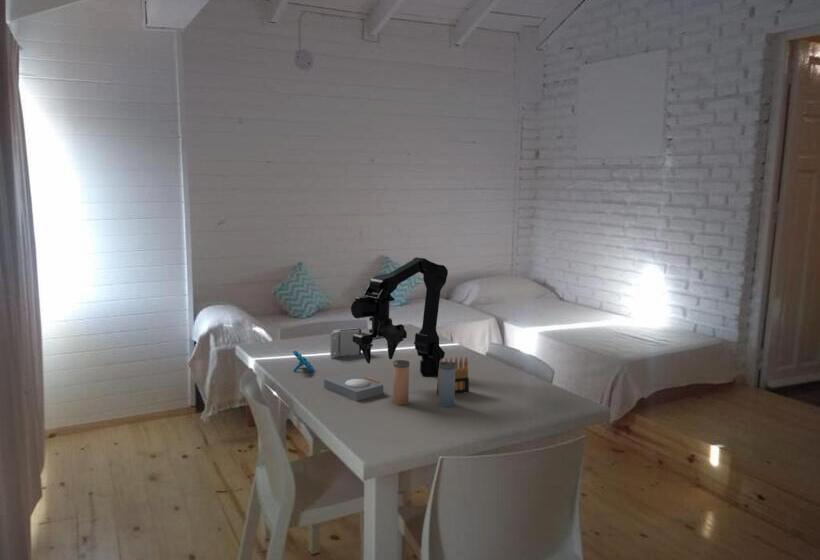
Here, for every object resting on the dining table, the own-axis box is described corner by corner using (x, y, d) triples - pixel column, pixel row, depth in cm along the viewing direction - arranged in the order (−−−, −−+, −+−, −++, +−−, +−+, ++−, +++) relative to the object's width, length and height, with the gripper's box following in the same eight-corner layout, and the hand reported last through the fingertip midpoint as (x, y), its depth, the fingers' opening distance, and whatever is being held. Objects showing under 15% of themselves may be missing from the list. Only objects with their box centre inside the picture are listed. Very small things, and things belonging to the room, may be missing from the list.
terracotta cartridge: (407, 399, 211) (408, 359, 209) (409, 405, 206) (410, 364, 204) (392, 400, 211) (392, 360, 209) (393, 405, 206) (394, 364, 204)
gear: (315, 370, 236) (294, 350, 236) (303, 382, 236) (282, 362, 235) (316, 366, 247) (296, 347, 247) (304, 377, 247) (285, 358, 246)
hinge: (331, 359, 258) (331, 333, 257) (325, 356, 263) (324, 331, 261) (362, 354, 266) (362, 329, 264) (356, 351, 270) (356, 327, 269)
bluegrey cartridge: (453, 401, 210) (454, 361, 208) (456, 407, 205) (457, 365, 203) (437, 402, 209) (438, 361, 207) (440, 407, 204) (440, 366, 203)
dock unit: (352, 381, 230) (352, 371, 229) (384, 393, 217) (384, 382, 216) (324, 387, 222) (324, 377, 222) (356, 401, 209) (356, 390, 209)
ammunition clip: (438, 395, 216) (439, 359, 214) (436, 393, 218) (437, 358, 216) (468, 392, 220) (469, 356, 218) (466, 390, 221) (467, 355, 219)
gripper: (372, 322, 208) (371, 371, 210) (418, 316, 220) (416, 362, 222) (351, 316, 216) (351, 363, 219) (396, 310, 228) (395, 355, 230)
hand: (379, 361), depth 222 cm, fingers open, 9 cm apart
